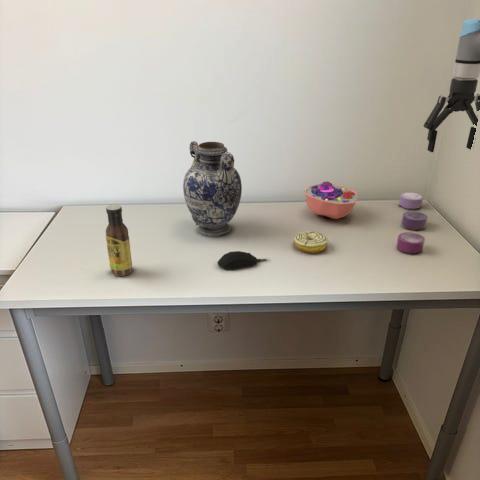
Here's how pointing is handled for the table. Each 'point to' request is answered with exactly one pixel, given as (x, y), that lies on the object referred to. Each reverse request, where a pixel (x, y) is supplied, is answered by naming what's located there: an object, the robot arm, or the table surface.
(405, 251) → the dish
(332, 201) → the cell model
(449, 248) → the table surface
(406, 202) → the dish
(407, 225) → the dish middle
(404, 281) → the table surface
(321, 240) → the decorated donut
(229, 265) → the gaming mouse
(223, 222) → the decorative vase
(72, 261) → the table surface
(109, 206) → the sauce bottle
